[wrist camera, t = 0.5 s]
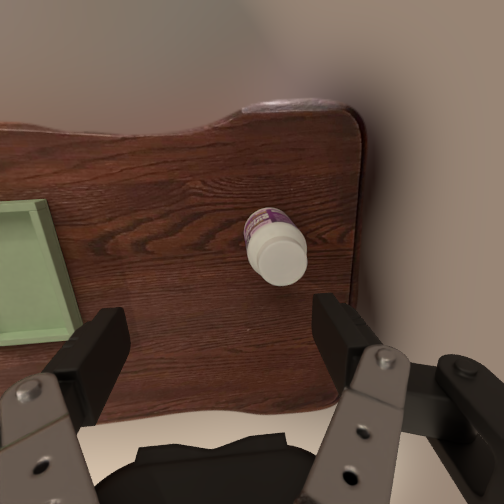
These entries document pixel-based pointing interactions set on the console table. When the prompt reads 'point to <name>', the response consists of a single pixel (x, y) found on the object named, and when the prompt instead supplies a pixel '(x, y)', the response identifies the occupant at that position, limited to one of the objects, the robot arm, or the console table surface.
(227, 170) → the console table surface
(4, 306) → the tray
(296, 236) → the pill bottle
